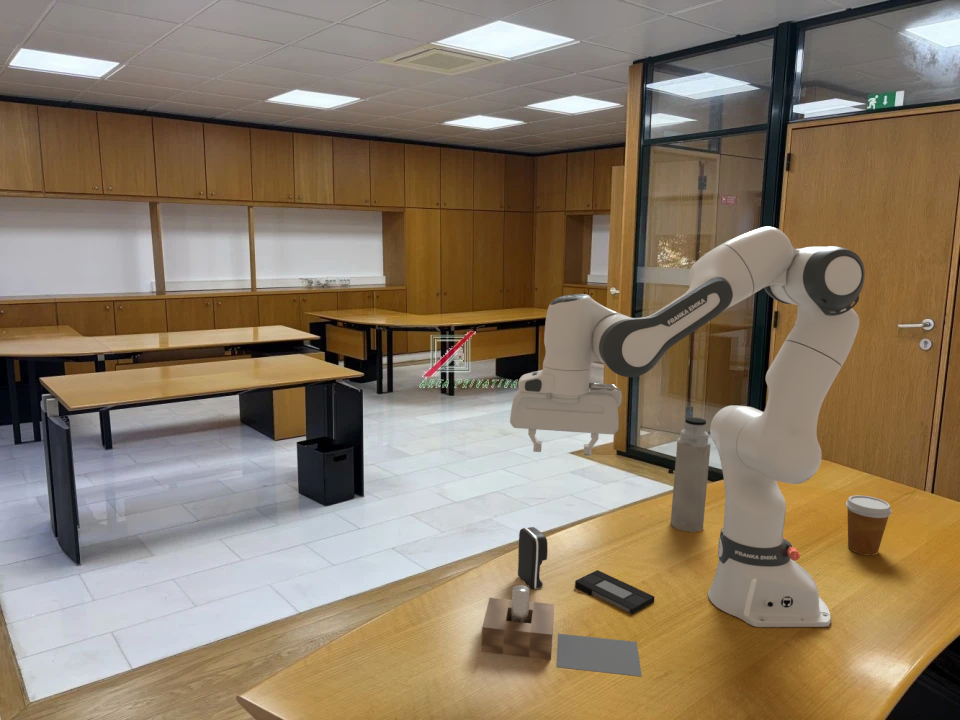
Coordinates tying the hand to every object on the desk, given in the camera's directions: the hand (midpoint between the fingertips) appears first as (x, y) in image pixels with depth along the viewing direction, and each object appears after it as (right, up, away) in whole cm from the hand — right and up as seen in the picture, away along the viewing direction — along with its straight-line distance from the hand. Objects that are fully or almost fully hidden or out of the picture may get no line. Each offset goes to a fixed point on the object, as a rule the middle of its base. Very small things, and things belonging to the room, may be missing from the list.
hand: (562, 452), depth 131 cm
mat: (+5, -34, -11) cm, 36 cm away
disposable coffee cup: (+76, -28, +34) cm, 88 cm away
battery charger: (-5, -29, +14) cm, 33 cm away
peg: (-9, -33, -7) cm, 35 cm away
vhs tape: (+12, -31, +10) cm, 34 cm away
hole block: (-9, -33, -7) cm, 35 cm away
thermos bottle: (+37, -25, +45) cm, 63 cm away
